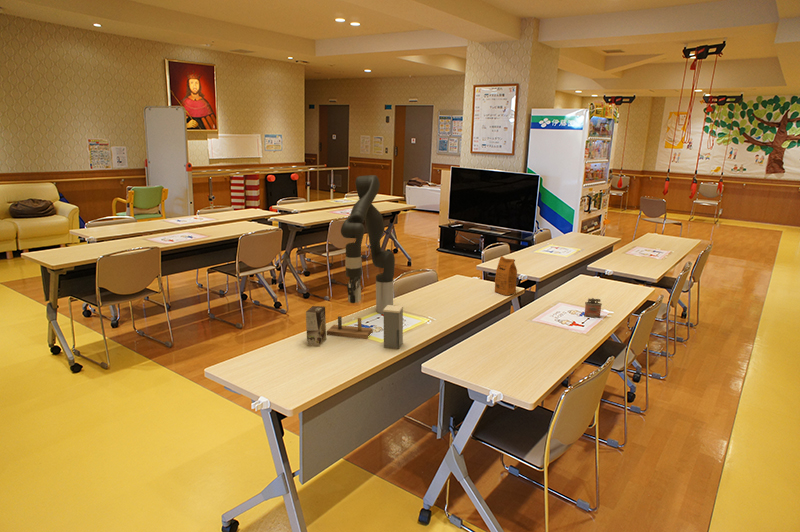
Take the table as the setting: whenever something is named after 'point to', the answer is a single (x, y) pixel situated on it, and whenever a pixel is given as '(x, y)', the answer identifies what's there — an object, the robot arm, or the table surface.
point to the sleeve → (356, 297)
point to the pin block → (349, 330)
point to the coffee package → (506, 277)
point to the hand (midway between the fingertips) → (354, 300)
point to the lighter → (593, 308)
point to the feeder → (393, 326)
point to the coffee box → (316, 325)
